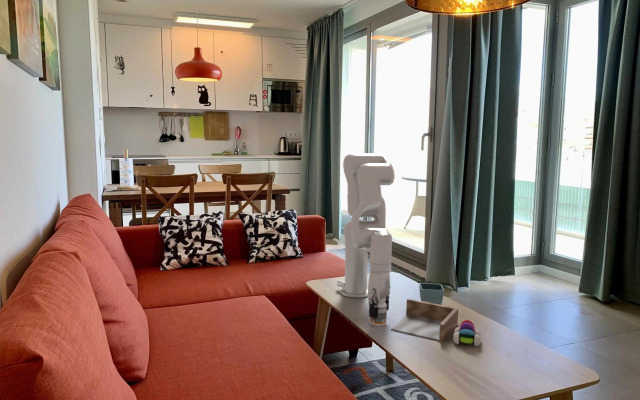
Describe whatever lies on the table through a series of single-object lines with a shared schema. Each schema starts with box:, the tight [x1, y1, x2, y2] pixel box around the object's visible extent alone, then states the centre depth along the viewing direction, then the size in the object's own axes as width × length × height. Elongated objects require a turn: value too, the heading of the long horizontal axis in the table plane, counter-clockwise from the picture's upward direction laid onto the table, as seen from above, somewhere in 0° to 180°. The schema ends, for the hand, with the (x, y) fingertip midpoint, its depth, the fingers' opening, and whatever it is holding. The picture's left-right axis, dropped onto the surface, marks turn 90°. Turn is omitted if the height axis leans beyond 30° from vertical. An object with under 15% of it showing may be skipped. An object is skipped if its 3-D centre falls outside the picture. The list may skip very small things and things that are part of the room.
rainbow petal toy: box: [452, 319, 481, 348], centre depth 163 cm, size 8×10×7 cm
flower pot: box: [418, 282, 445, 305], centre depth 194 cm, size 9×9×9 cm
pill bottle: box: [369, 297, 388, 327], centre depth 177 cm, size 6×6×10 cm
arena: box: [390, 298, 459, 343], centre depth 175 cm, size 19×19×6 cm
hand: (379, 313), depth 177 cm, fingers open, 9 cm apart
